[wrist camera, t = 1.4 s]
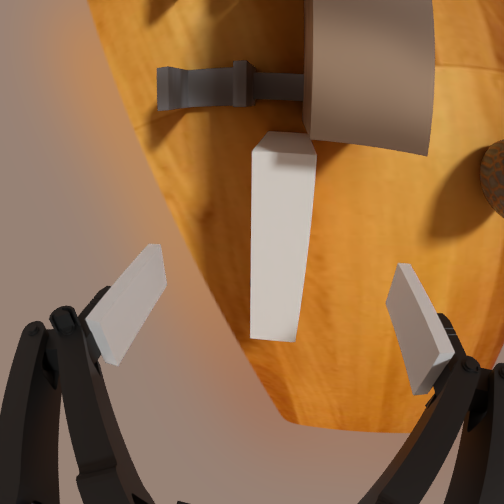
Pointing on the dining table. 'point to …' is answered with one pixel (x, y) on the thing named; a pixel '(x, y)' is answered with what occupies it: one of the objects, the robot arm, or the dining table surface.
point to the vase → (494, 176)
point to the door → (280, 232)
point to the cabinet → (338, 75)
